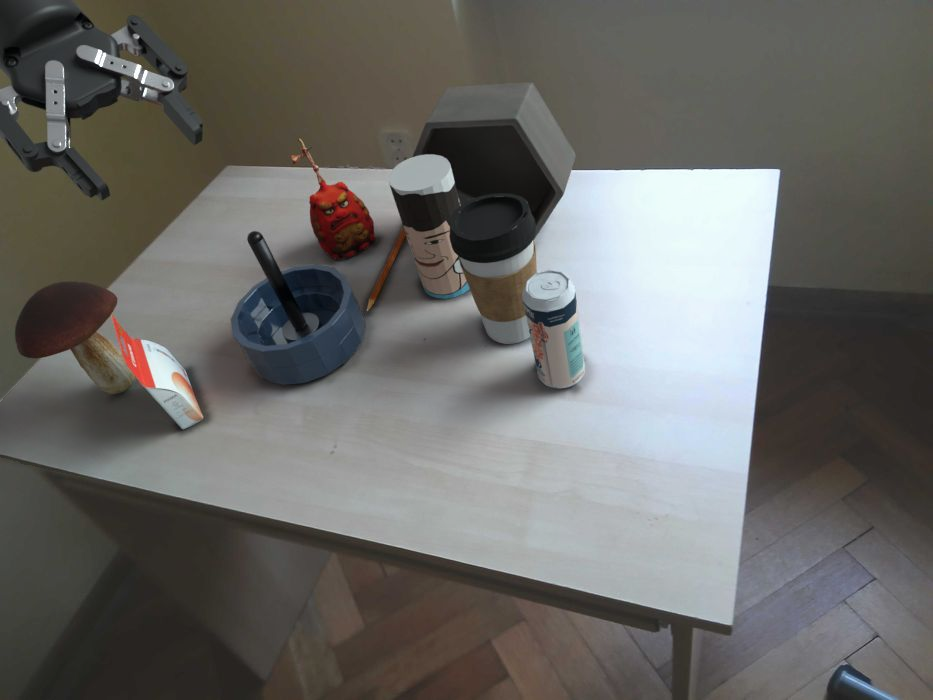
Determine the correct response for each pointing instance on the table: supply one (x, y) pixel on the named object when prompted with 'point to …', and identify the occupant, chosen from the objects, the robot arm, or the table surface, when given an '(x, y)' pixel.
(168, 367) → the ink box
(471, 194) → the grey hexagonal shelf
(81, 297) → the decorative mushroom
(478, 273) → the coffee cup
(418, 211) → the cup
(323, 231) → the red clay folk toy
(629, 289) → the table surface
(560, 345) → the beer can
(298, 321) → the rod on round base
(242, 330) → the bowl
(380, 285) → the pencil
